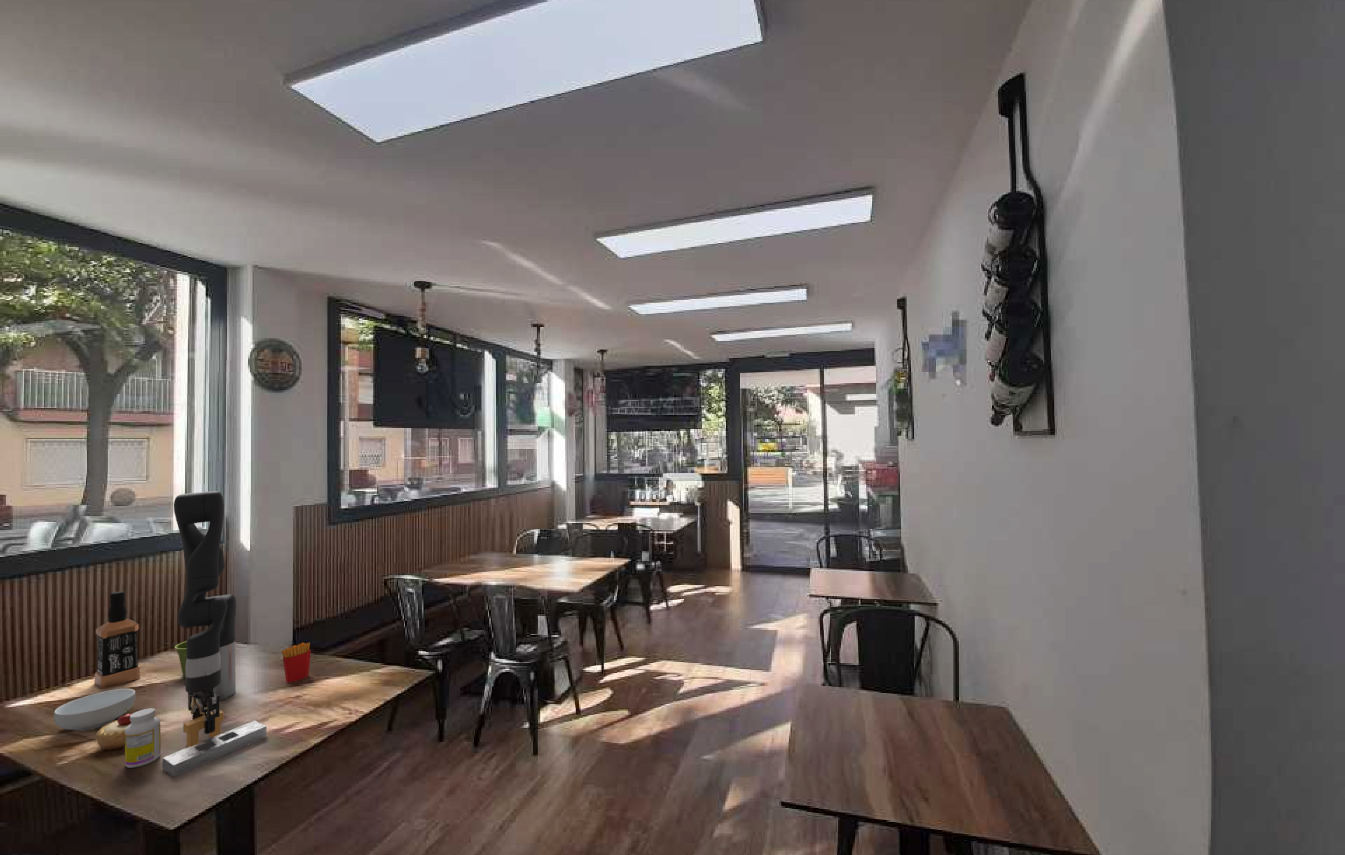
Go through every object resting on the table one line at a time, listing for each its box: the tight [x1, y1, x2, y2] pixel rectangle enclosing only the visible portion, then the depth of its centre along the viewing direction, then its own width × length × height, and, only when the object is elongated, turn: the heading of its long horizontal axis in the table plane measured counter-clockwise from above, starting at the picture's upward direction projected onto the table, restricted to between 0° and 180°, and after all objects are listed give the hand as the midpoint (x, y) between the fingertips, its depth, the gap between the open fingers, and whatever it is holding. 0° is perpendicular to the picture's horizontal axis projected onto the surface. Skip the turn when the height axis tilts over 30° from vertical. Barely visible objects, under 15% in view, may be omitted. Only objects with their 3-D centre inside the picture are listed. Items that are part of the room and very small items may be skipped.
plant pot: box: [174, 640, 187, 678], centre depth 194 cm, size 12×12×11 cm
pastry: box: [95, 708, 157, 750], centre depth 149 cm, size 12×12×9 cm
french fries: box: [281, 642, 312, 683], centre depth 187 cm, size 8×4×12 cm, turn 147°
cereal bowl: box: [53, 688, 136, 732], centre depth 159 cm, size 17×17×7 cm
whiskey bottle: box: [94, 590, 141, 690], centre depth 190 cm, size 10×10×32 cm
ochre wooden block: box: [182, 710, 225, 748], centre depth 148 cm, size 3×8×6 cm, turn 151°
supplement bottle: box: [124, 707, 162, 769], centre depth 139 cm, size 7×7×13 cm
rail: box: [162, 720, 267, 778], centre depth 142 cm, size 7×20×3 cm, turn 151°
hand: (203, 729), depth 148 cm, fingers open, 7 cm apart
